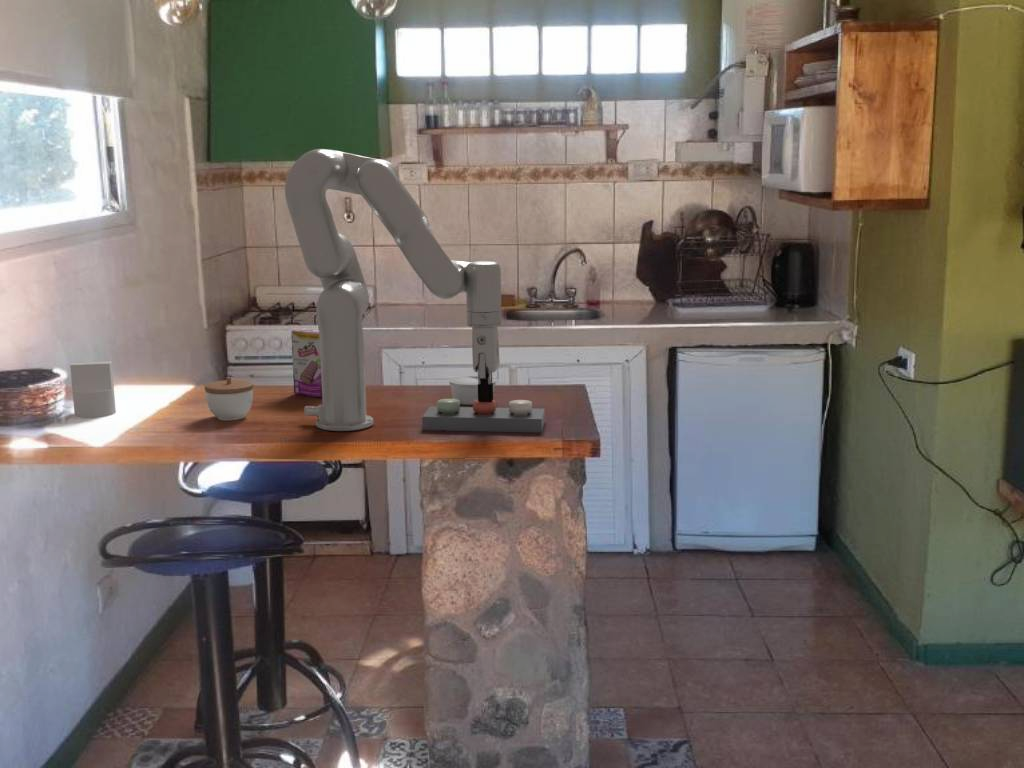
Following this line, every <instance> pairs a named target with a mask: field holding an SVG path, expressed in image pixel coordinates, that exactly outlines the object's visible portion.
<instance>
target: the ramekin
mask: <svg viewBox="0 0 1024 768" xmlns="http://www.w3.org/2000/svg"><path fill="white" fill-rule="evenodd" d="M492 383H493V394H494V392H495V386H496V385H497V381H496V379H494V378H492ZM449 386H450V390H451V396H452V399H457V400H459V401H460V405H468V406H473V401H474V400H477V399H478V375H472V376H471V375H470V376H469V375H466V376H457V377H453V378H451V379H450V380H449Z"/></svg>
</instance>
